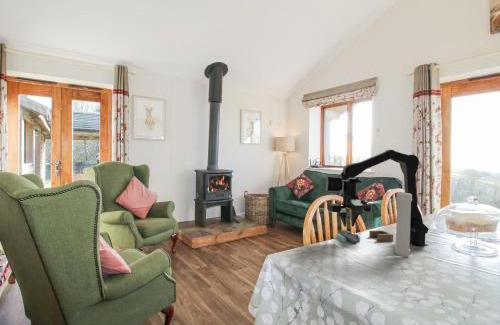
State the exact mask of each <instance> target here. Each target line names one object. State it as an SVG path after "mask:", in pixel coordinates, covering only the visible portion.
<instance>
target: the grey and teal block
mask: <svg viewBox="0 0 500 325" xmlns="http://www.w3.org/2000/svg"><path fill="white" fill-rule="evenodd" d="M340 234H341V235H342V236H344V237H346V240H348V241H350V242H349V243H352V244H353V245H355V244H357V243H359V242H358V241H359V237H360V236H359V235H358V234H356V233H354V232H351V231H349V230H347V229H342V230H341V231H340Z"/></svg>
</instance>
